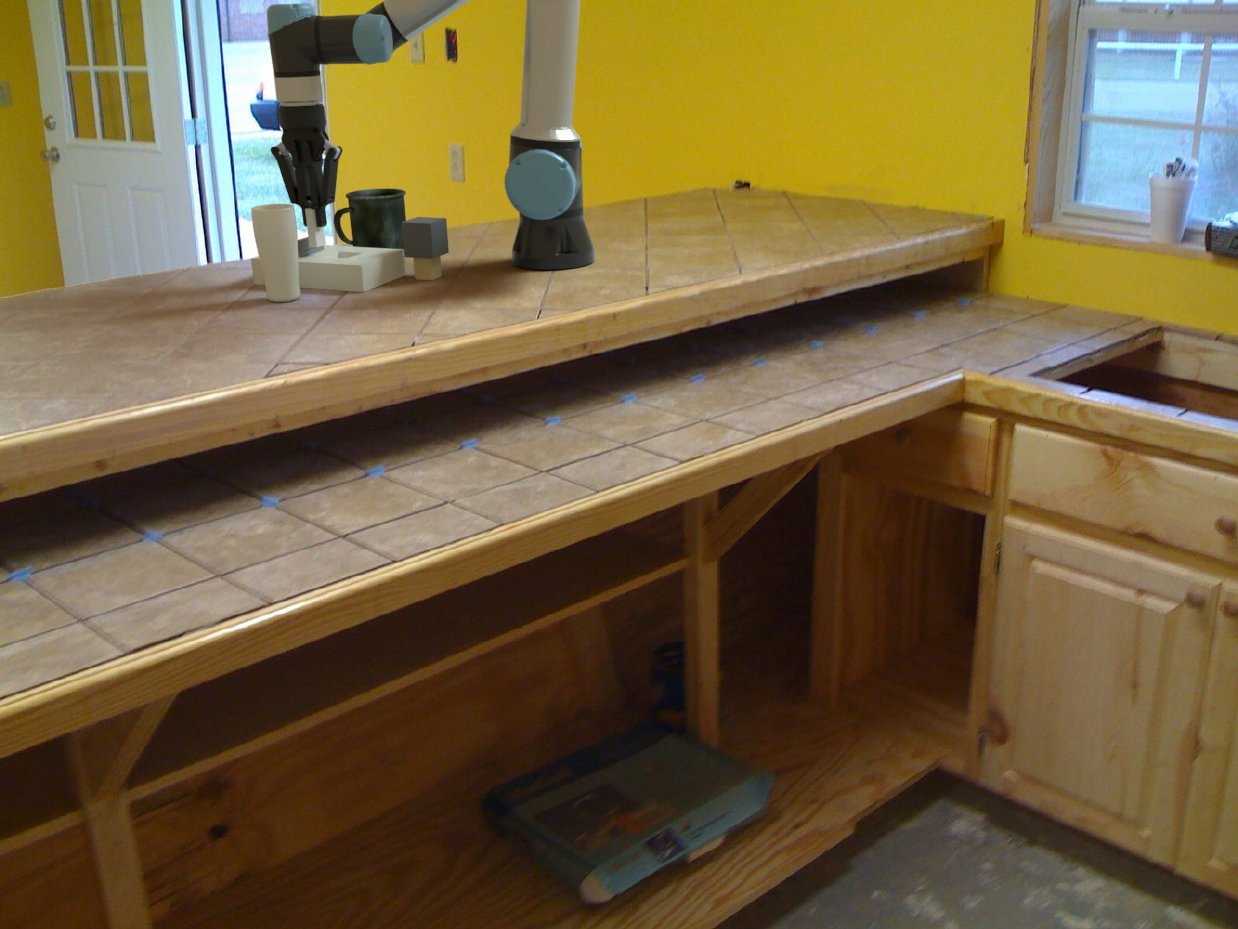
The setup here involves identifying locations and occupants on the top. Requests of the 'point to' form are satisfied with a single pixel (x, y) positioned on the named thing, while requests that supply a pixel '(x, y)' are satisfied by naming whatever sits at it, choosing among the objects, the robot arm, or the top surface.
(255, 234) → the drinking glass
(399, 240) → the mug
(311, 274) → the socket
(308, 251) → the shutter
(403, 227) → the plug
